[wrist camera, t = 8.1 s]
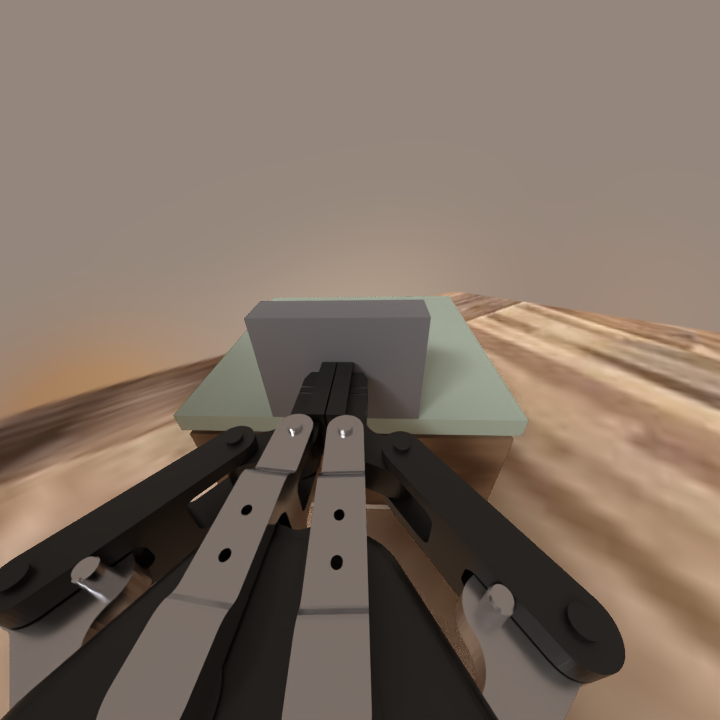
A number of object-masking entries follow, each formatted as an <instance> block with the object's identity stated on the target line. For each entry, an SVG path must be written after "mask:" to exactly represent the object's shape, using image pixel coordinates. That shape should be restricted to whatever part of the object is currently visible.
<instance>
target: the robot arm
mask: <svg viewBox="0 0 720 720" xmlns="http://www.w3.org/2000/svg"><path fill="white" fill-rule="evenodd" d="M367 414H368V379H367V377H366V376H365V374H364V373H355V372H354V362H322V364H321V367H320V370H319V372H311V373H310V374H309V375H308V376H307V377H305V379H304V381H303V384H302V387H301V389H300V391H299V394H298V396H297V399H296V401H295V404H294V407H293V409H292V412H291V414H290V416H287V417H285V418H284V419H283V420H281V421H280V423H279V424H278V426H277V427H276V429H274V430H271V431H267V432H262V433H258V434H255V433H254V431H253V429H252V428H250V427H248V426H236V427H233V428H230V429H228V430H226V431H225V432H223V433H221V434H220V435H218V436H216V437H215V438H213V439H211V440H210V441H208V442H206V443H205V444H203V445H201V446H200V447H198V448H196V449H195V450H193V451H191V452H190V453H188V454H186V455H185V456H183V457H181V458H180V459H178V460H176V461H175V462H173V463H171V464H170V465H168V466H167V467H165V468H163V469H162V470H160V471H158V472H157V473H155V474H153V475H152V476H150V477H148V478H147V479H145V480H143V481H142V482H140V483H138V484H137V485H135V486H133V487H132V488H130V489H128V490H127V491H125V492H123V493H122V494H120V495H118V496H117V497H115V498H113V499H112V500H110V501H108V502H107V503H105V504H103V505H102V506H100V507H98V508H97V509H95V510H93V511H92V512H90V513H88V514H87V515H85V516H84V517H82V518H80V519H79V520H77V521H75V522H74V523H72V524H70V525H69V526H67V527H65V528H64V529H62V530H60V531H59V532H57V533H55V534H54V535H52V536H50V537H49V538H47V539H45V540H44V541H42V542H40V543H39V544H37V545H35V546H34V547H32V548H30V549H29V550H27V551H25V552H24V553H22V554H20V555H19V556H17V557H16V558H14V559H12V560H11V561H9V562H8V563H7V564H5V565H4V566H3V567H1V568H0V627H1V628H2V629H3V630H5V631H8V632H9V635H10V710H9V712H8V713H7V714H6V715H5V716H4V717H3V718H2V719H1V720H564V718H565V716H566V714H567V712H568V710H569V708H570V706H571V704H572V702H573V700H574V698H575V696H576V694H577V692H578V690H579V688H580V687H582V686H585V685H587V684H590V683H592V682H595V681H597V680H600V679H602V678H605V677H607V676H610V675H613V674H615V673H617V672H618V671H619V670H620V669H621V668H622V666H623V664H624V660H625V648H624V643H623V640H622V637H621V634H620V632H619V630H618V628H617V626H616V624H615V622H614V621H613V619H612V617H611V616H610V615H609V613H608V612H607V611H606V609H605V608H604V607H603V606H602V605H601V604H600V603H599V602H598V601H597V600H596V599H595V598H594V597H593V596H592V595H591V594H590V593H588V592H587V591H586V590H585V589H584V588H583V587H582V586H581V585H580V584H578V583H577V582H576V581H575V580H574V579H573V578H572V577H571V576H570V575H568V574H567V573H566V572H565V571H564V570H563V569H562V568H561V567H560V566H558V565H557V564H556V563H555V562H554V561H553V560H552V559H551V558H550V557H548V556H547V555H546V554H545V553H544V552H543V551H542V550H541V549H540V548H538V547H537V546H536V545H535V544H534V543H533V542H532V541H531V540H530V539H528V538H527V537H526V536H525V535H524V534H523V533H522V532H521V531H520V530H519V529H517V528H516V527H515V526H514V525H513V524H512V523H511V522H510V521H509V520H507V519H506V518H505V517H504V516H503V515H502V514H501V513H500V512H499V511H497V510H496V509H495V508H494V507H493V506H492V505H491V504H490V503H489V502H487V501H486V500H485V499H484V498H483V497H482V496H481V495H480V494H479V493H477V492H476V491H475V490H474V489H473V488H472V487H471V486H470V485H469V484H467V483H466V482H465V481H464V480H463V479H462V478H461V477H460V476H459V475H457V474H456V473H455V472H454V471H453V470H452V469H451V468H450V467H449V466H448V465H446V464H445V463H444V462H443V461H442V460H441V459H440V458H439V457H438V456H436V455H435V454H434V453H433V452H432V451H431V450H430V449H429V448H428V447H426V446H425V445H424V444H423V443H422V442H421V441H420V440H419V439H418V438H416V437H415V436H414V435H412V434H410V433H408V432H404V431H396V432H392V433H390V434H388V435H387V436H383V435H380V434H377V433H375V432H373V431H372V430H371V429H370V428H369V427H368V426H367ZM323 454H324V457H323V465H322V472H321V466H320V464H321V460H322V455H323ZM320 472H321V474H320ZM226 475H228V478H226V479H225V480H223V481H222V482H221V483H219V484H218V485H216V486H215V487H214V488H212V489H211V490H209V491H208V492H207V493H205V494H204V495H202V496H201V497H200V498H198V499H197V500H195V501H193V502H190V501H191V500H192V499H193V498H195V497H196V496H197V495H199V494H200V493H202V492H203V491H204V490H206V489H207V488H209V487H210V486H211V485H213V484H214V483H216V482H217V481H219V480H220V479H221V478H223V477H224V476H226ZM365 488H367V489H369V490H372V491H374V492H377V493H379V494H381V496H382V498H383V500H384V501H385V503H386V504H387V505H388V506H389V508H390V509H391V510H392V512H393V513H394V514H395V515H396V517H397V518H398V519H399V521H400V522H401V523H402V524H403V526H404V527H405V528H406V530H407V531H408V532H409V533H410V535H411V536H412V537H413V539H414V540H415V541H416V542H417V544H418V545H419V546H420V548H421V549H422V550H423V551H424V553H425V554H426V555H427V557H428V558H429V559H430V560H431V562H432V563H433V564H434V566H435V567H436V568H437V569H438V571H439V572H440V573H441V575H442V576H443V577H444V578H445V580H446V581H447V582H448V584H449V585H450V586H451V587H452V589H453V590H454V591H455V593H456V594H457V595H458V596H459V598H458V601H457V603H456V608H455V619H456V624H457V628H458V631H459V633H460V635H461V637H462V639H463V641H464V643H465V644H466V646H467V648H468V650H469V652H470V655H471V657H472V661H473V664H474V669H475V677H476V683H475V682H474V680H473V679H472V677H471V675H470V674H469V672H468V671H467V669H466V668H465V666H464V664H463V663H462V661H461V660H460V658H459V657H458V655H457V654H456V652H455V650H454V649H453V647H452V646H451V644H450V643H449V641H448V639H447V638H446V636H445V635H444V633H443V632H442V630H441V628H440V627H439V625H438V624H437V622H436V621H435V619H434V618H433V616H432V614H431V613H430V611H429V610H428V608H427V607H426V605H425V603H424V602H423V600H422V599H421V597H420V596H419V594H418V593H417V591H416V589H415V588H414V586H413V585H412V583H411V582H410V580H409V578H408V577H407V575H406V574H405V572H404V571H403V569H402V567H401V566H400V564H399V563H398V561H397V560H396V559H395V557H394V556H393V555H392V554H391V553H390V552H389V551H388V550H387V549H386V548H385V547H384V546H383V545H381V544H380V543H379V542H377V541H376V540H374V539H372V538H370V537H368V536H367V529H366V495H365ZM315 489H316V492H315ZM314 492H315V500H314V507H313V515H312V522H311V527H309V528H307V517H308V513H309V509H310V506H311V503H312V499H313V496H314ZM161 577H162V578H161ZM160 578H161V579H160ZM155 582H156V583H155ZM154 583H155V584H154ZM153 584H154V585H153Z"/></svg>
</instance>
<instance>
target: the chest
mask: <svg viewBox="0 0 720 720" xmlns="http://www.w3.org/2000/svg"><path fill="white" fill-rule="evenodd" d="M223 432H225V431H213V430H192V432H191V433H190V435H191V437H192V438H193V440H194V442H195V444H196V446H197V447H200V446H201V445H203V444H205V443H206V442H208V441H210V440H211V439H213V438H215V437H216V436H218V435H220V434H221V433H223ZM262 432H267V431H254V433H255V434H258V433H262ZM377 434H380V435H383V436H387V435H388V434H381V433H377ZM412 435H414V436H415V437H416V438H418V439H419V440H420V441H421V442H422V443H423V444H424V445H425V446H426V447H428V448H429V449H430V450H431V451H432V452H433V453H434V454H435V455H436V456H438V457H439V458H440V459H441V460H442V461H443V462H444V463H445V464H446V465H448V466H449V467H450V468H451V469H452V470H453V471H454V472H455V473H456V474H457V475H459V476H460V477H461V478H462V479H463V480H464V481H465V482H466V483H467V484H469V485H470V486H471V487H472V488H473V489H474V490H475V491H476V492H477V493H479V494H480V495H481V496H482V497H483V498H484V499H485V500H486V501H487V500H488V497H489V495H490V493H491V490H492V488H493V486H494V483H495V481H496V479H497V477H498V474H499V472H500V470H501V467H502V465H503V463H504V461H505V458H506V456H507V454H508V451H509V449H510V447H511V444H512V442H513V438H512V436H493V435H437V434H412ZM323 457H324V454H323V455H322V460H321V464H320V466H321V472H322V465H323ZM321 472H320V474H321ZM226 478H228V475H226V476H224V477H223V478H221V479H220V480H219V481H217V483H218V484H219V483H221V482H222V481H223V480H225V479H226ZM315 492H316V489H315ZM315 492H314V496H313V499H312V503H311V506H310V507H314V500H315ZM365 495H366V509H390V508H389V506H388V505H387V504H386V503H385V501H384V500H383V498H382V496H381V494H379V493H377V492H374V491H372V490H369V489H367V488H365Z"/></svg>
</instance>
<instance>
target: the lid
mask: <svg viewBox="0 0 720 720" xmlns="http://www.w3.org/2000/svg"><path fill="white" fill-rule="evenodd" d="M244 320H245V323H246V327H247V331H246V332H245V333H244V334H243V335H242V336H241V338H240V339H239V340H238V341H237V342H236V343H235V345H234V346H233V347H232V348H231V349H230V350H229V351H228V353H227V354H226V355H225V356H224V357H223V358H222V360H221V361H220V362H219V363H218V364H217V365H216V367H215V368H214V369H213V370H212V371H211V372H210V374H209V375H208V376H207V377H206V378H205V379H204V381H203V382H202V383H201V384H200V385H199V386H198V388H197V389H196V390H195V391H194V392H193V393H192V395H191V396H190V397H189V398H188V399H187V400H186V401H185V403H184V404H183V405H182V406H181V407H180V408H179V410H178V411H177V412H176V413H175V414H174V415H173V416H174V417H175V419H176V421H177V422H178V424H179V426H180V428H181V429H182V430H213V431H226V430H228V429H230V428H233V427H236V426H248V427H250V428H252V429H253V431H271V430H274V429H276V427H277V426H278V424H279V423H280V421H281V420H283V419H284V418H285V417H287V416H290V414H291V412H292V409H293V407H294V404H295V401H296V399H297V396H298V394H299V391H300V389H301V387H302V384H303V381H304V379H305V377H307V376H308V375H309V374H310V373H311V372H319V370H320V367H321V364H322V362H354V372H355V373H364V374H365V376H366V377H367V379H368V414H367V426H368V427H369V428H370V429H371V430H372V431H373V432H375V433H381V434H390V433H392V432H396V431H404V432H408V433H410V434H437V435H493V436H522V434H523V432H524V430H525V428H526V425H527V423H528V419H527V417H526V416H525V414H524V413H523V411H522V410H521V408H520V406H519V405H518V403H517V402H516V400H515V399H514V397H513V395H512V394H511V392H510V391H509V389H508V388H507V386H506V384H505V383H504V381H503V380H502V378H501V377H500V375H499V373H498V372H497V370H496V369H495V367H494V366H493V364H492V363H491V361H490V359H489V358H488V356H487V355H486V353H485V352H484V350H483V348H482V347H481V345H480V344H479V342H478V341H477V339H476V337H475V336H474V334H473V333H472V331H471V330H470V328H469V326H468V325H467V323H466V322H465V320H464V319H463V317H462V315H461V314H460V312H459V311H458V309H457V308H456V306H455V305H454V303H453V301H452V300H451V298H450V297H449V296H421V297H420V296H418V297H330V298H329V297H327V298H325V297H324V298H274V299H273V300H272V301H260V302H259V303H258V304H257V305H256V306H255V307H254V309H253V310H252V311H251V312H250V313H249V314H248V315H247V316H246V317H245V318H244Z"/></svg>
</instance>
